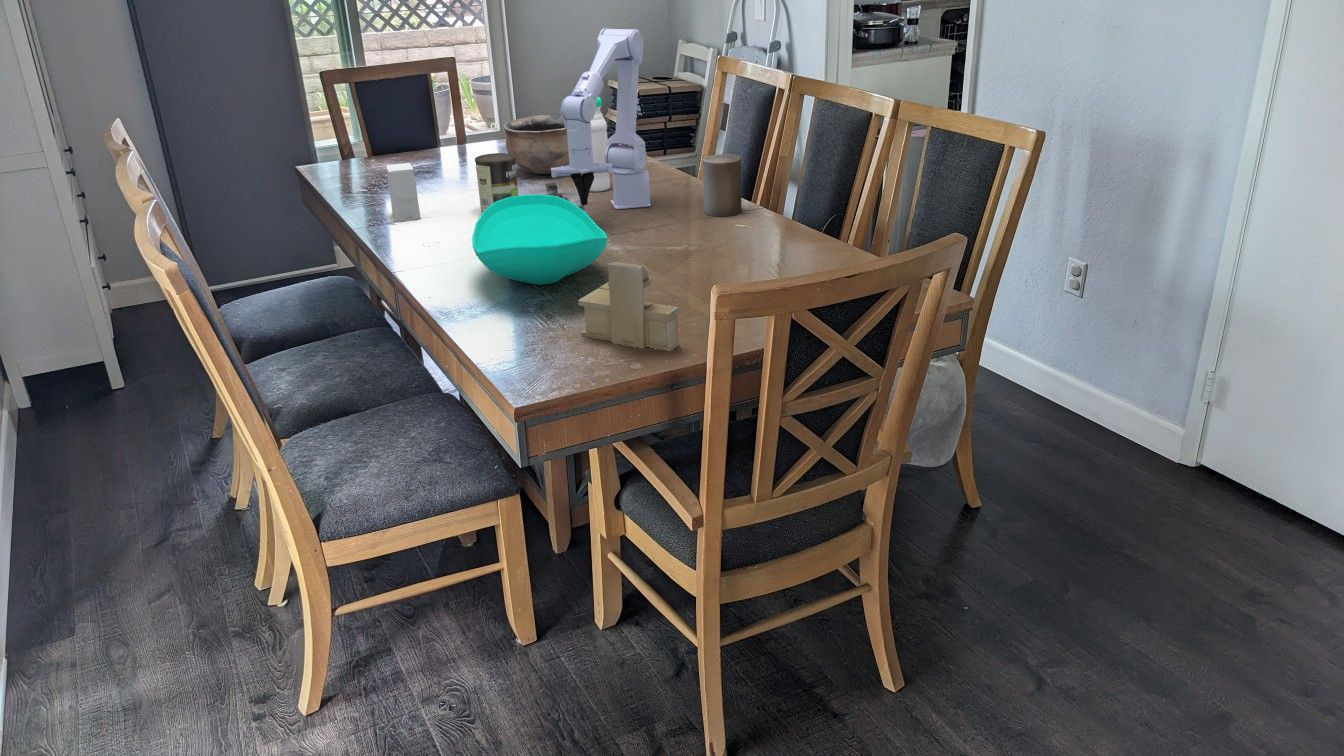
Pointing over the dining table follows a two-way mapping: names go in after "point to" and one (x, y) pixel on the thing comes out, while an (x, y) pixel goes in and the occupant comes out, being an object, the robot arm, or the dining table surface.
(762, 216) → the dining table surface
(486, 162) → the coffee can
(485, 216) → the table top decor
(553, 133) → the ceramic bowl
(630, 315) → the toy kitchen set
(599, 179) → the water bottle
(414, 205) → the small box
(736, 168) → the pillar candle
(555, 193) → the lid
